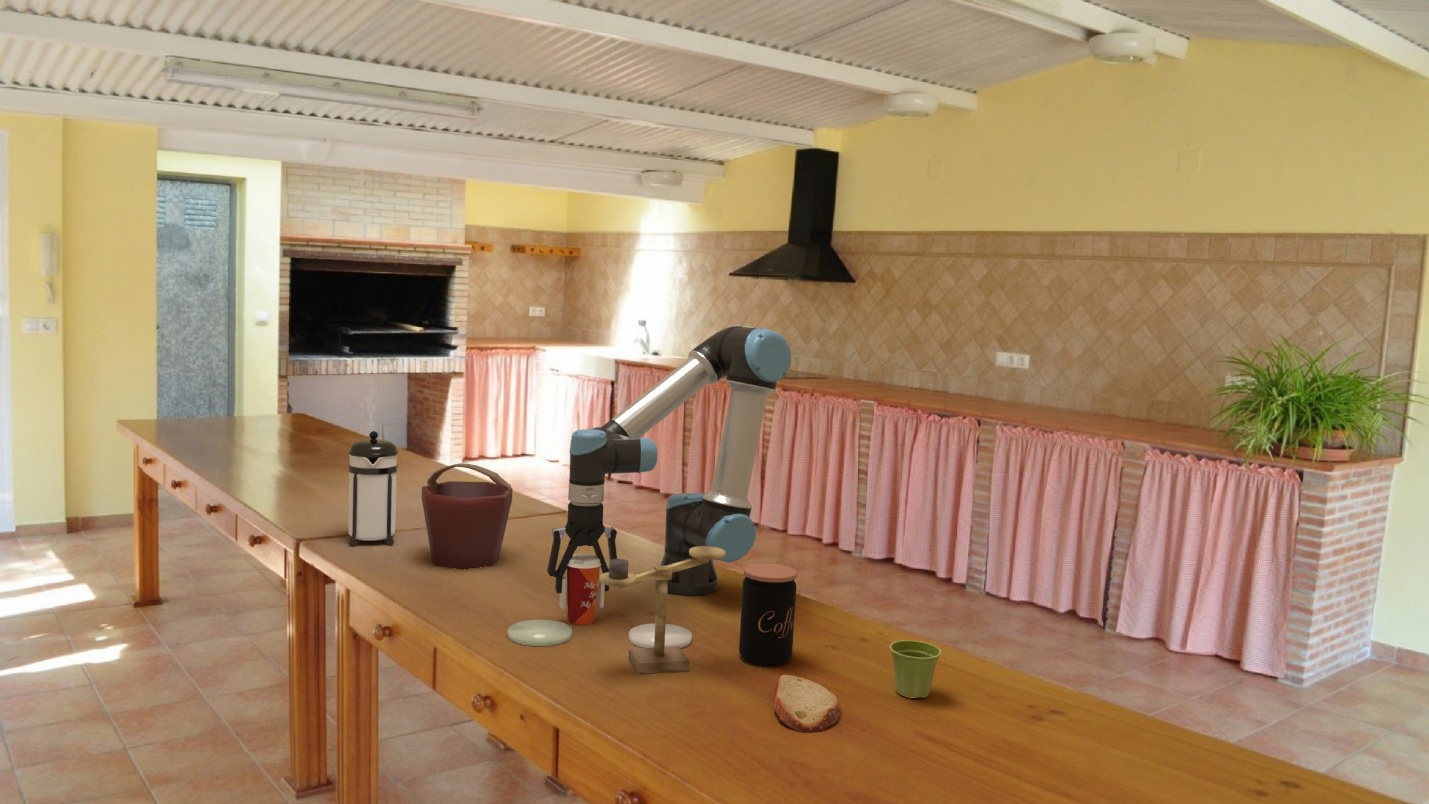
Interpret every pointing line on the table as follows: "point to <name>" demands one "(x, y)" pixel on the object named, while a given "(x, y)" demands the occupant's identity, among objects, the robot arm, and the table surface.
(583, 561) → the paper cup
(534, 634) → the sage dish
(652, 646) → the white dish
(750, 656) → the coffee jar
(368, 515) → the coffee press
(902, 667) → the plant pot
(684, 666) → the balance
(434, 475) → the bucket
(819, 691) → the bread slice
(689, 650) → the table surface
